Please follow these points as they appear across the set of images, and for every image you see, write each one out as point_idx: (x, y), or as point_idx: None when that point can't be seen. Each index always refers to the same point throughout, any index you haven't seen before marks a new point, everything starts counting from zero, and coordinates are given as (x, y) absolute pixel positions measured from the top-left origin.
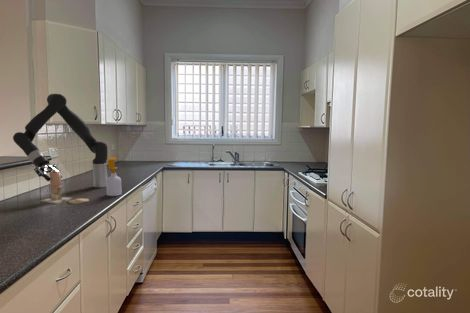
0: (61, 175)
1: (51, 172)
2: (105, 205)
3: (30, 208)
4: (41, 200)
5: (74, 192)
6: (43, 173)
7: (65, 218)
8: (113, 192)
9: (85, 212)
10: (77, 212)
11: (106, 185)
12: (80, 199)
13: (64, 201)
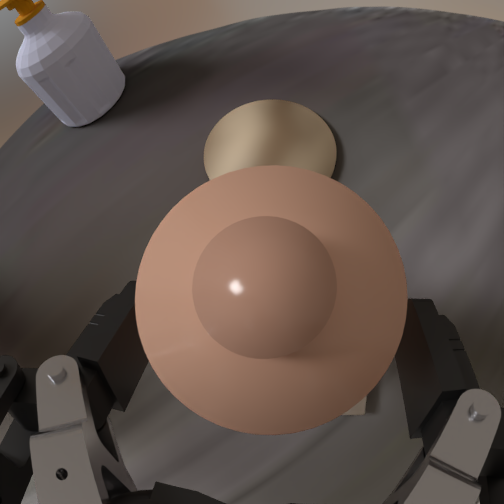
0: (121, 293)
1: (251, 433)
2: (303, 19)
3: (494, 329)
4: (353, 410)
5: None
6: (490, 439)
7: (497, 66)
8: (117, 64)
9: (420, 36)
10: (437, 58)
11: (74, 79)
12: (238, 157)
13: None
